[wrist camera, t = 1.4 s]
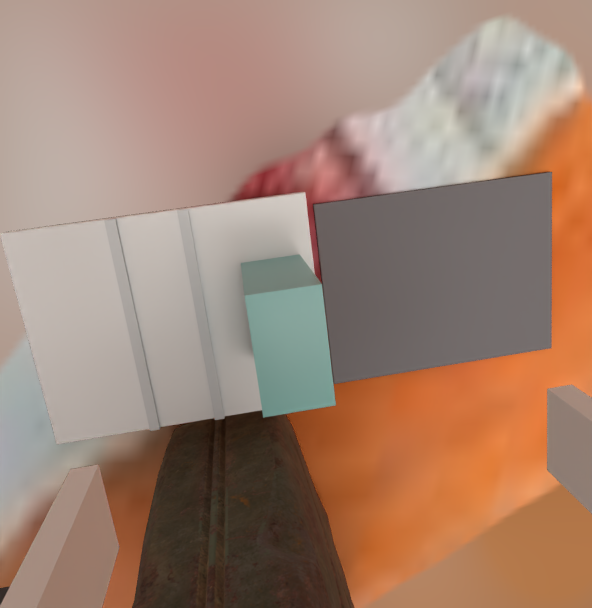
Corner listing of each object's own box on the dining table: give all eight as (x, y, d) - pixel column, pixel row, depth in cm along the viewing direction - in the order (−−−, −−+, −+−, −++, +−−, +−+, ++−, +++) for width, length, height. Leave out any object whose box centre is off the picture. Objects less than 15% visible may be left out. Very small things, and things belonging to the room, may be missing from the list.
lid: (61, 436, 34) (5, 529, 26) (6, 231, 31) (-80, 259, 22) (326, 392, 36) (358, 466, 27) (302, 191, 32) (330, 203, 24)
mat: (333, 382, 43) (334, 383, 43) (313, 204, 39) (314, 204, 39) (548, 346, 45) (551, 347, 44) (548, 172, 41) (551, 172, 41)
